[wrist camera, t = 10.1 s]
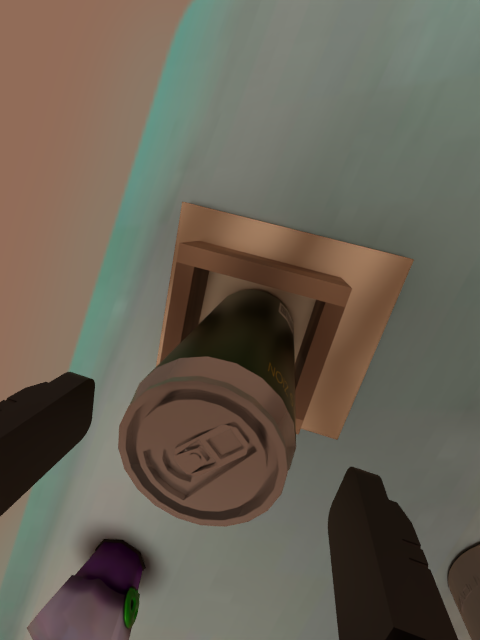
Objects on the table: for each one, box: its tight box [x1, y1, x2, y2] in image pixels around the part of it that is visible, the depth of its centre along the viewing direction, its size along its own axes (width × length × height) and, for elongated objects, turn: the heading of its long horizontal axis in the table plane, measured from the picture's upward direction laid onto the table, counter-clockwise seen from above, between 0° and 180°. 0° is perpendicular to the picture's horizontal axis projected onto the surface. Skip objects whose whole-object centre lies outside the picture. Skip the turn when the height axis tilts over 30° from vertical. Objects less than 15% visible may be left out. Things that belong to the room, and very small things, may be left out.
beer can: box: [118, 289, 296, 526], centre depth 14 cm, size 5×5×12 cm
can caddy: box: [156, 202, 414, 439], centre depth 18 cm, size 14×13×5 cm
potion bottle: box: [27, 539, 145, 640], centre depth 25 cm, size 9×9×12 cm
